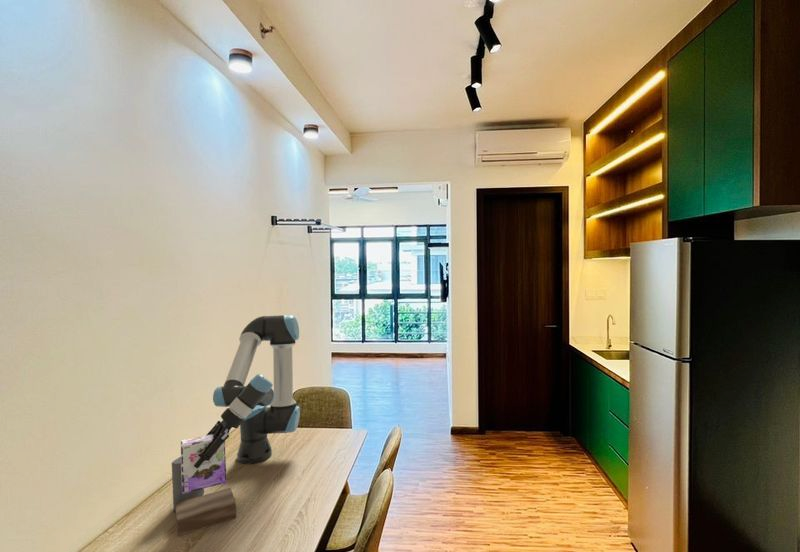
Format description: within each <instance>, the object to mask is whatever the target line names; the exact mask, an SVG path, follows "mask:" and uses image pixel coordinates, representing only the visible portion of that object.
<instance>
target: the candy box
mask: <svg viewBox="0 0 800 552" xmlns="http://www.w3.org/2000/svg"><path fill="white" fill-rule="evenodd" d="M213 435H214V434H212V435H207V434H205V435H201V436H197V437H192V438H187V439H181V440H180V457H181V477H182V493H183V494H184V493H188V492H192V491H196V490H200V489H204V490H205V489H207V488H210V487H211V488H212V487H215V486H219V485H223V484H226V483H227V466H226V465H227V464H226V463H227V462H226V440H225V441H224V442H223V444H222V445H221V446H220V447H219V449H218V450H217V451H216V452H215V453H214V455H213V456H212V457H211V458H210V460H209V461H207V460H205V462H204V463H203V464H202V465H201V466H200V468H199V469H198V470H197V471H196V472H195V473H194V475H193V476H192V477H190V476H188V475H186V474H185V473H184V472H185V471H186V470H187V469H188V468H189V466H190V465H191V464H192V463H193V462H194V461H195V459H196V458H197V457H198V455H199V454H202V453H203V451H204V450H205V449H206V447H207V446H208V445H209V444H210V443H211V441H212V440H213Z"/></svg>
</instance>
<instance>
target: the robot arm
mask: <svg viewBox="0 0 800 552" xmlns="http://www.w3.org/2000/svg"><path fill="white" fill-rule="evenodd" d="M299 338H300V327H299V322H298V320H297V318H296V316H294V315H290V314H289V315H288V314H287V315H286V314H283V315H263V316H258V317H256V318H254V319H253V320H251V321H250V322H249V323H248V324H247V325H246V326H245V327H244V328H243V330H242V331H241V334H240V336H239V344H238V348H237V350H236V352H235V356H234V358H233V361H232V363H231V366H230V369H229V372H228V373H227V376H226V379H225V381H224V384H223V386H218V387H216V388H215V389H214V391H213V394H212V401H213V403H214V406H216V407H219V408H221V407H223V408H226V409H225V410H224V411H223V412H222V413H221V415H220V417H221V419H222V420H221V421H220V420H217V421H216V423H215V424H214V426H212V428H211V429H210V430H209V431H208V433H207V434H206V435H212V434H214V435H213V440H212V441H211V443H210V444H209V445H208V446H207V447H206V449H205V450H204V451H203V453H202V454H199V455H198V457H197V458H196V459H195V461H194V462H193V463H192V464H191V465H190V466H189V468H188V469H187V470H186V471H185V472H184V473H185V474H186V475H188V476H190V477H192V476H193V475H194V473H195V472H196V471H197V470H198V469H199V468H200V466H201V465H202V464H203V463H204V462H205V460H207V461H209V460H210V458H211V457H212V456H213V455H214V453H215V452H216V451H217V450H218V449H219V447H220V446H221V445H222V444H223V442H224V441H225V442H226V440H228V439H229V437H230V435H229V433H230V431H231V429H238V428H239V430H240V443H239V447H238V450H237V454H236V457H237V462H238V463H240V464H256V463H261V462H263V461H265V460H267V459H268V458H270V457H271V456H272V453H273V449H272V445H271V443H270V440H269V438H268V435H270V434H287V433H289V434H291V433H294V432H296V430H297V429H298V426H299V423H300V418H301V417H300V415H301V407H300V406H299V405H297V401H296V400H295V399H294V395H293V394H294V392H293V391H294V389H293V386H294V384H293V380H294V379H293V378H294V377H293V375H294V374H293V347H294V346H295V345H296V341H298V340H299ZM262 342H269V346H270V347H271V348H272V349H273V357H272V358H273V383H272V382H271V381H270V380H269V379H267V378H266V377H265V376H264V375H262V374H261V373H258V374H256V375H255V376H254V377H253V378H252V379H250V381H249V383H248V384H247V385H245V384H246V381H247V379H248V375H249V372H250V370H251V366H252V363H253V360H254V357H255V355H256V352H257V348H259V346H260V345H261V344H262Z"/></svg>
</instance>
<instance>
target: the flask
mask: <svg viewBox="0 0 800 552" xmlns="http://www.w3.org/2000/svg"><path fill="white" fill-rule="evenodd" d="M171 479H172V480H171V481H172V501H173V502H172V505H173V506H172V507H173V511H174V512H175V513H176V503H178V502H182V501H185V500H189V499H192V498H196V497H199V496H203V495H204V492H205V488H204V489H200V490H196V491H192V492H188V493H184V494H183V493H182V477H181V456H180V457H178V458H176V459H174V460H173V461H172V462H171Z"/></svg>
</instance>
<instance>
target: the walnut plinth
mask: <svg viewBox="0 0 800 552" xmlns="http://www.w3.org/2000/svg"><path fill="white" fill-rule="evenodd" d="M175 513H176V514H175V515H176V517H175V519H176V528H177V529H176V531H177V532H176V533H177V537H180V536H183V535H186V534H188V533H192V532H196V531H199V530H202V529H204V528H208V527H210V526H214V525H217V524H220V523H223V522H226V521H229V520H232V519H236V518H237V502H236V499H235V497H234V494H233V491H232V488H231V487H229V488H225V489H221V490H218V491H214V492H211V493H207V494H202V496H199V497H196V498H192V499H189V500H185V501H182V502H178V503H176V512H175Z"/></svg>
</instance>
